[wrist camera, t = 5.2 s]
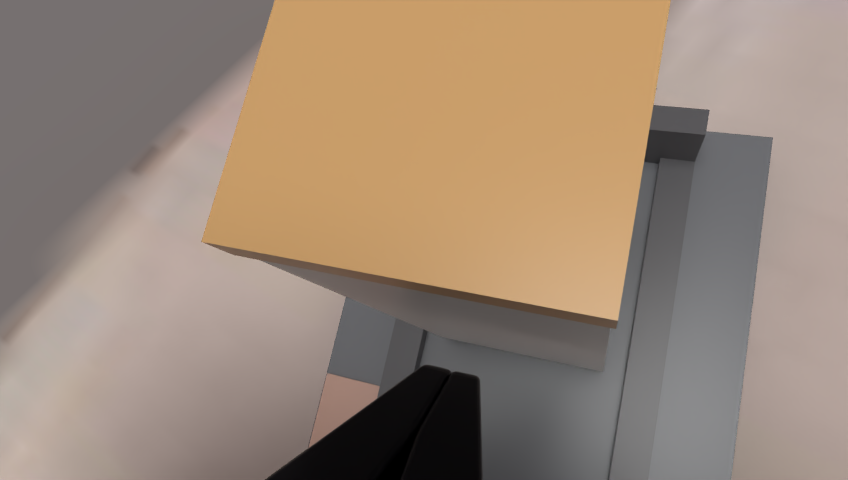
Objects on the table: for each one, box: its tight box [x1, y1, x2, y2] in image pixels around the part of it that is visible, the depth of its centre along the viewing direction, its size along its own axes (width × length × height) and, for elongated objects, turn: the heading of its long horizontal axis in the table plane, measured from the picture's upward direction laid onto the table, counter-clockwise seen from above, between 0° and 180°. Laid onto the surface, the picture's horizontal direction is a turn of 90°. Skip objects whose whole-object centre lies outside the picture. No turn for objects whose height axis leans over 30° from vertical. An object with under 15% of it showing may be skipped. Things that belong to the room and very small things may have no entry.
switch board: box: [308, 105, 773, 480], centre depth 15 cm, size 14×10×3 cm
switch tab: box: [201, 0, 671, 372], centre depth 11 cm, size 4×4×10 cm
